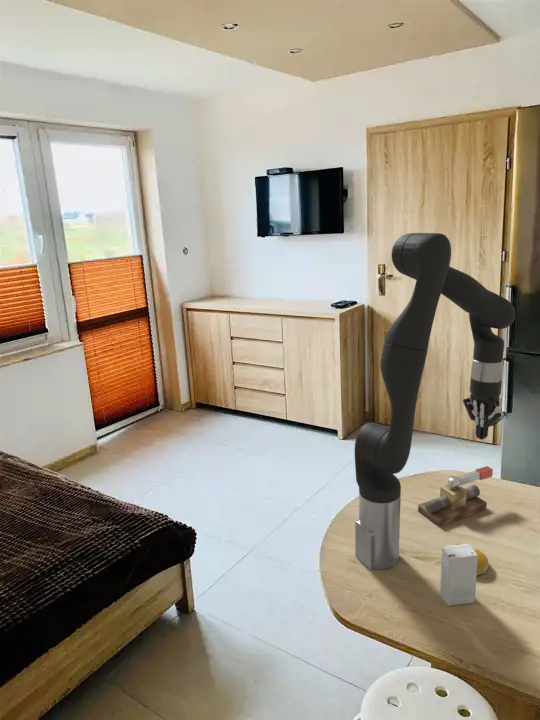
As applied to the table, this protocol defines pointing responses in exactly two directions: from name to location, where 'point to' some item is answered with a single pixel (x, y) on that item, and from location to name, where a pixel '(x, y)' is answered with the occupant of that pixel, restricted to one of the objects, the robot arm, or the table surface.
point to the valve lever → (469, 477)
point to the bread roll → (481, 562)
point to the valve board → (453, 514)
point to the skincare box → (458, 574)
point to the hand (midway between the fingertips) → (481, 438)
